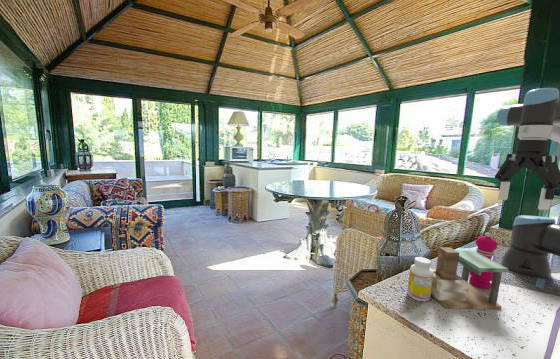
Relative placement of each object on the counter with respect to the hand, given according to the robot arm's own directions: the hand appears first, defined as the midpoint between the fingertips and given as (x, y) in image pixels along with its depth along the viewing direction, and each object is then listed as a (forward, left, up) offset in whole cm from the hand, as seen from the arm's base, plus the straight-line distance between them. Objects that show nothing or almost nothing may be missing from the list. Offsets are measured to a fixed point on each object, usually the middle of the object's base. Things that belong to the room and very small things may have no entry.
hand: (521, 204), depth 84 cm
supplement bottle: (+33, +3, -32) cm, 46 cm away
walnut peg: (+24, +2, -31) cm, 39 cm away
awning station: (+19, +2, -32) cm, 37 cm away
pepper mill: (+5, -5, -32) cm, 33 cm away
